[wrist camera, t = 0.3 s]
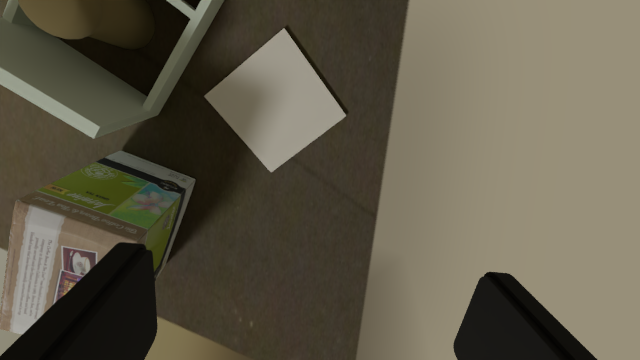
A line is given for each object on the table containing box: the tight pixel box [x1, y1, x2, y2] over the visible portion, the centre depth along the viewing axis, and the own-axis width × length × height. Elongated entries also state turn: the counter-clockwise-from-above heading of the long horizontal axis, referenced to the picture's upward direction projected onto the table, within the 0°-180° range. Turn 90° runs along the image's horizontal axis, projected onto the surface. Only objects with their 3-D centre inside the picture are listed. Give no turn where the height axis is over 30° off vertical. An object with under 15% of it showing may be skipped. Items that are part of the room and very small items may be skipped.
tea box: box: [0, 151, 196, 334], centre depth 33 cm, size 15×10×15 cm
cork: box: [18, 0, 155, 50], centre depth 27 cm, size 6×6×11 cm
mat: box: [204, 28, 346, 172], centre depth 36 cm, size 12×12×1 cm
